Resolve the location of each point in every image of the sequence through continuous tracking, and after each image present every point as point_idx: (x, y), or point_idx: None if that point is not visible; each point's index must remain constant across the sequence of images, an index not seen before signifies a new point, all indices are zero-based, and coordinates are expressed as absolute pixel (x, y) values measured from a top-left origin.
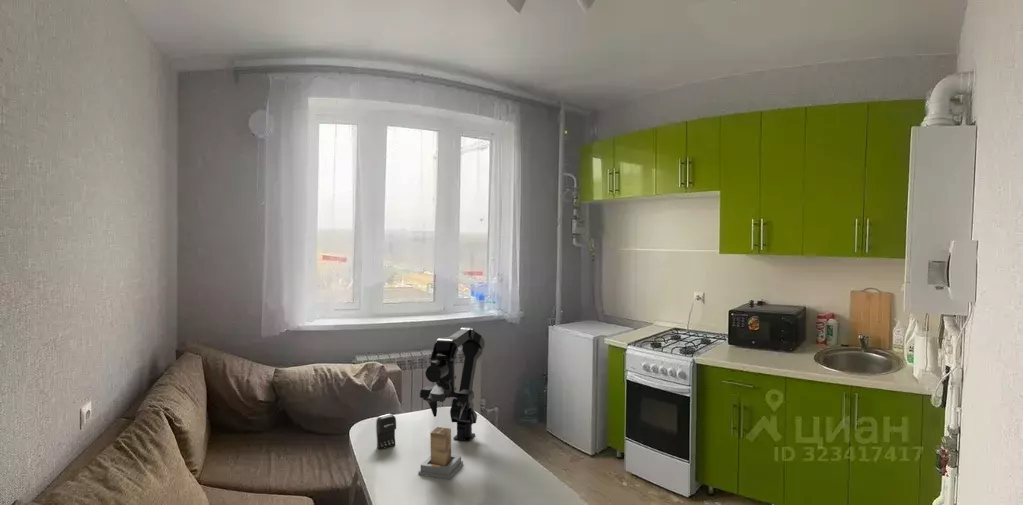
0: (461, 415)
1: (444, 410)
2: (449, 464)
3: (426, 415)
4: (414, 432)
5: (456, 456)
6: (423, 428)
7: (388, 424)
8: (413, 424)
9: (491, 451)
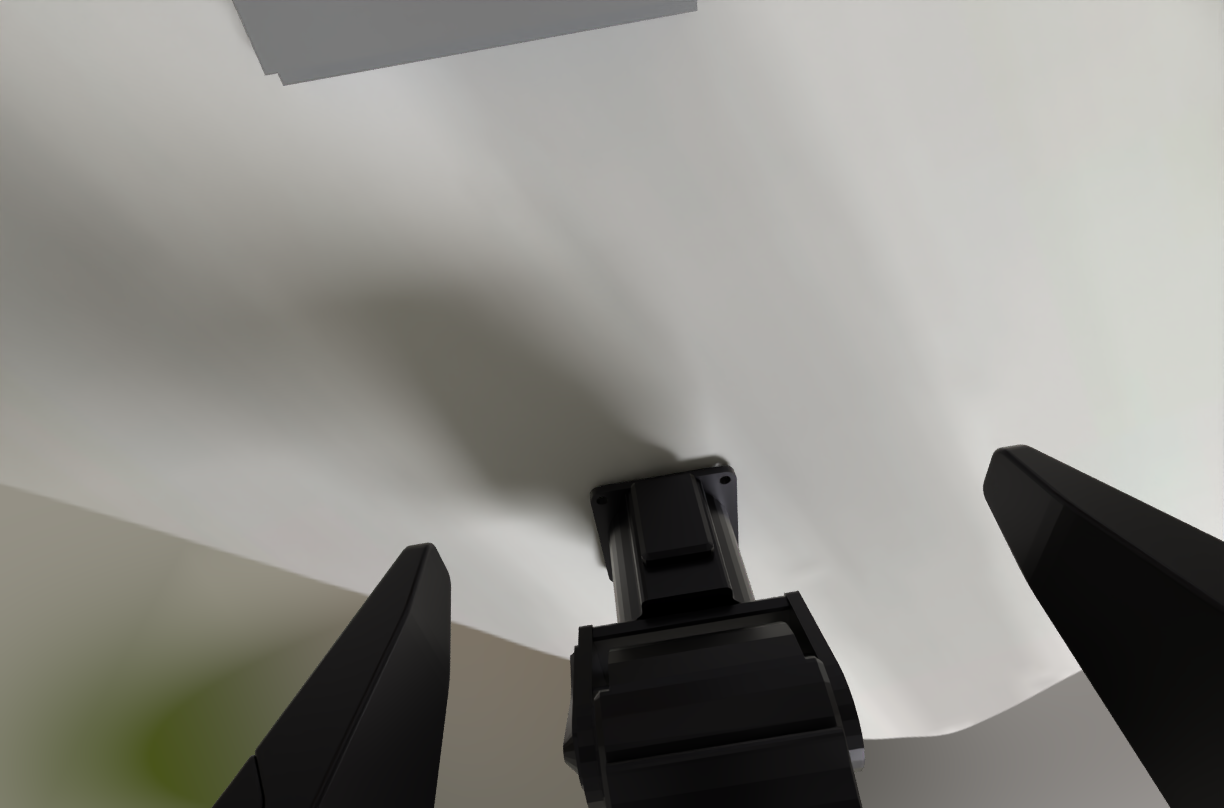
0: (672, 683)
1: (976, 700)
2: None
3: None
4: (1112, 425)
5: (303, 19)
6: None
7: None
8: None
9: (295, 439)
